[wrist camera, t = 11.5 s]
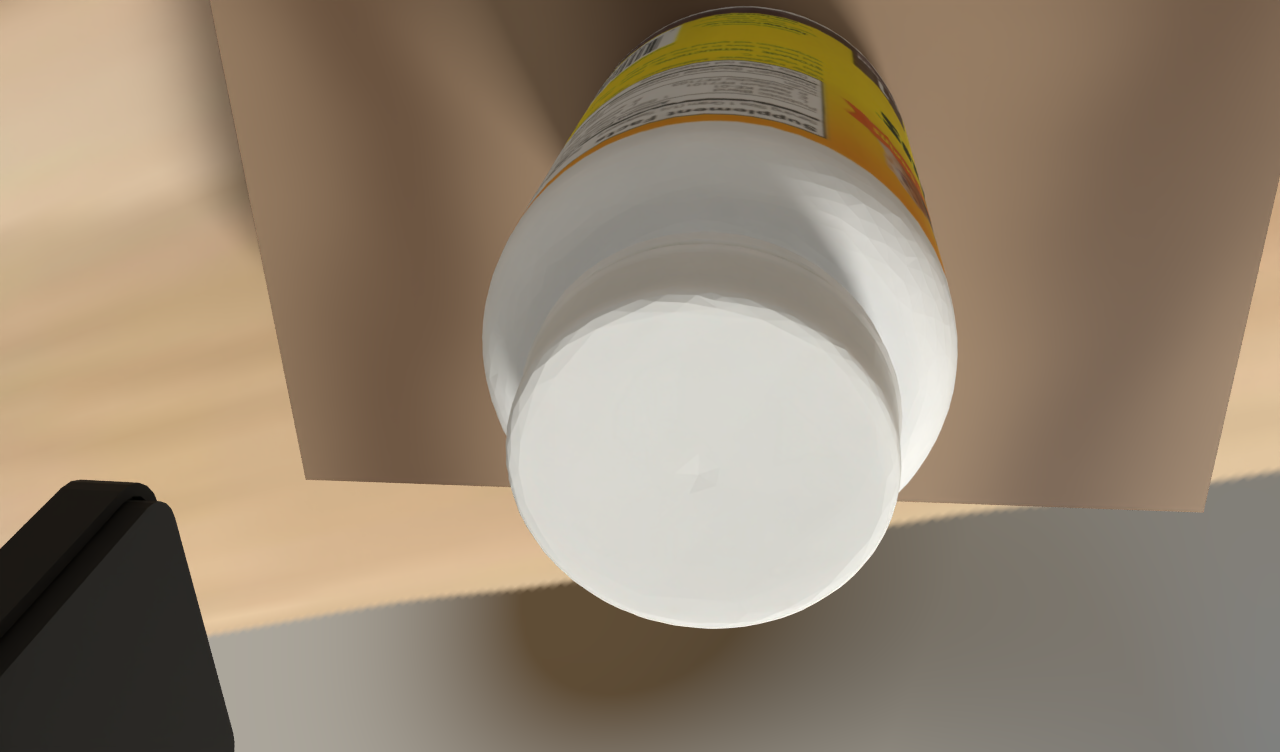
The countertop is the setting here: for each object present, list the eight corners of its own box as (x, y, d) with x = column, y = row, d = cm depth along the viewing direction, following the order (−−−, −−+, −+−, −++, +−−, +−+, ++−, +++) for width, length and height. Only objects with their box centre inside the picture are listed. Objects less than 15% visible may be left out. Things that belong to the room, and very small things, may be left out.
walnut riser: (1270, -321, 21) (1394, -331, 16) (1139, 386, 27) (1203, 512, 23) (277, -279, 23) (153, -278, 19) (378, 367, 30) (305, 479, 25)
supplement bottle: (886, 319, 22) (941, 722, 13) (584, 295, 22) (435, 665, 13) (931, 4, 19) (1040, 233, 10) (588, -16, 20) (404, 187, 11)
